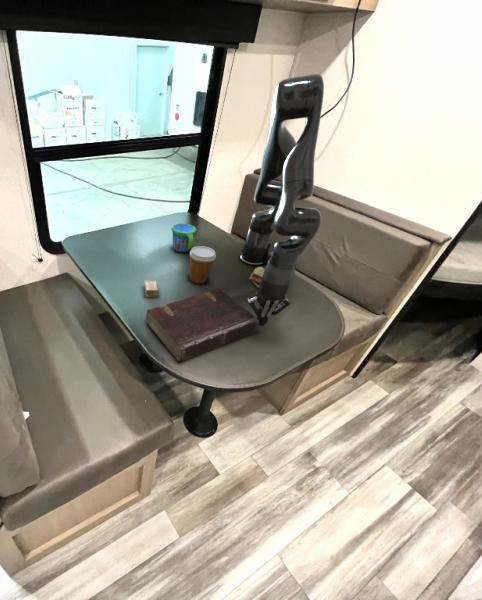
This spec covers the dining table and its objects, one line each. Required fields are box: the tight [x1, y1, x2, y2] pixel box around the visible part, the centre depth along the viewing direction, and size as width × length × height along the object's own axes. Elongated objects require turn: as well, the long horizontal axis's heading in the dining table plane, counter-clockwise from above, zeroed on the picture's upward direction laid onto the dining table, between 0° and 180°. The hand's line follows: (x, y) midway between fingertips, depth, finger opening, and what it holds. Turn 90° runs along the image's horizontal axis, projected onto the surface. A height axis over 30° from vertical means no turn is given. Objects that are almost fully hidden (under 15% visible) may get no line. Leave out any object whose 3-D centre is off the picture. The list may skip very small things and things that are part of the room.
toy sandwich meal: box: [249, 266, 265, 289], centre depth 119 cm, size 12×14×5 cm
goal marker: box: [143, 280, 159, 298], centre depth 113 cm, size 4×6×3 cm, turn 3°
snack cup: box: [170, 222, 197, 253], centre depth 139 cm, size 16×10×10 cm
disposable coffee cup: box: [189, 245, 217, 284], centre depth 118 cm, size 10×10×12 cm
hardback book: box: [145, 288, 260, 363], centre depth 97 cm, size 29×19×5 cm, turn 117°
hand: (260, 324), depth 99 cm, fingers closed
